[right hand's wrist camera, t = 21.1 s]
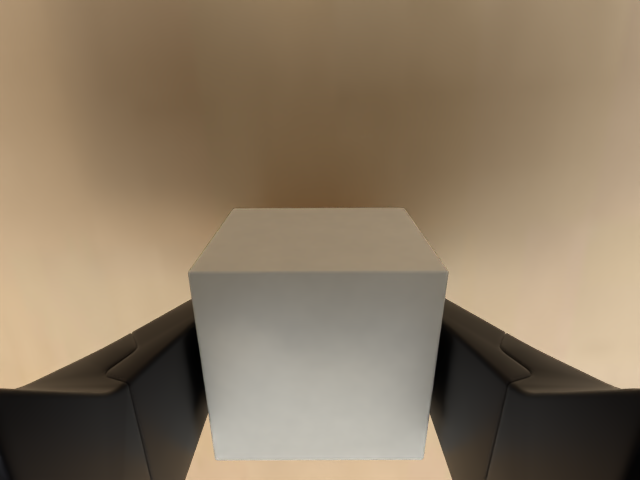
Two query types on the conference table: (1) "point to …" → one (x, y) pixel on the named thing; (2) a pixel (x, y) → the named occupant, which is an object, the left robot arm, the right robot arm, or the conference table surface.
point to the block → (318, 333)
